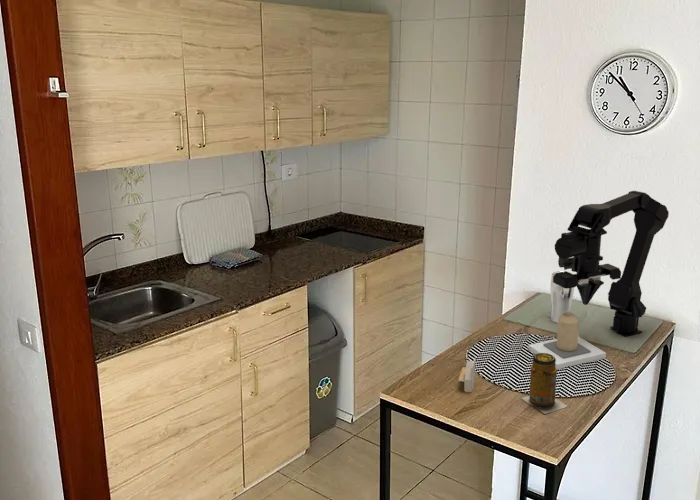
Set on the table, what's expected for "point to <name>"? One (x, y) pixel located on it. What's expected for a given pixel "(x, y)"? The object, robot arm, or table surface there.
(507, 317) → the table surface
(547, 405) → the condiment
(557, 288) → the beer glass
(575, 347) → the candle
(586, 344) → the white flat block
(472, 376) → the architectural model
